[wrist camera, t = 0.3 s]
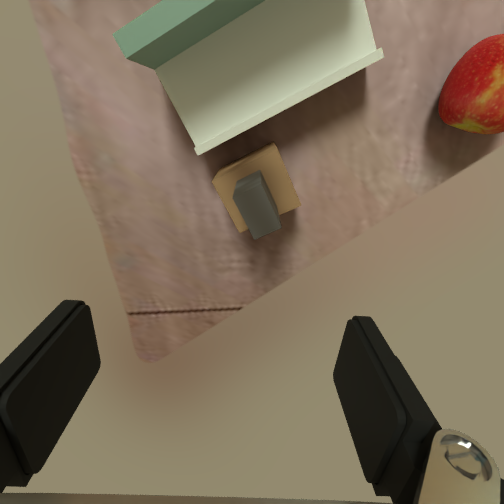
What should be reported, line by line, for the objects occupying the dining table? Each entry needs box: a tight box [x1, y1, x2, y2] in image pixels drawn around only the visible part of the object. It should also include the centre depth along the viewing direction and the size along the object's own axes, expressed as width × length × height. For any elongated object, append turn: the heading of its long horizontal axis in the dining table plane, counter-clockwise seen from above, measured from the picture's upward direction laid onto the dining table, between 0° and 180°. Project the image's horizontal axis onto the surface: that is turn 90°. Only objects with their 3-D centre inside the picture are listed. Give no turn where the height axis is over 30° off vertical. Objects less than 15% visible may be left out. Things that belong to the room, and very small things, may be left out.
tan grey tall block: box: [212, 141, 301, 240], centre depth 29 cm, size 7×6×13 cm
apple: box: [438, 34, 504, 134], centre depth 27 cm, size 8×8×8 cm
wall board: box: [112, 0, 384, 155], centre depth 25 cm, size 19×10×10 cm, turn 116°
